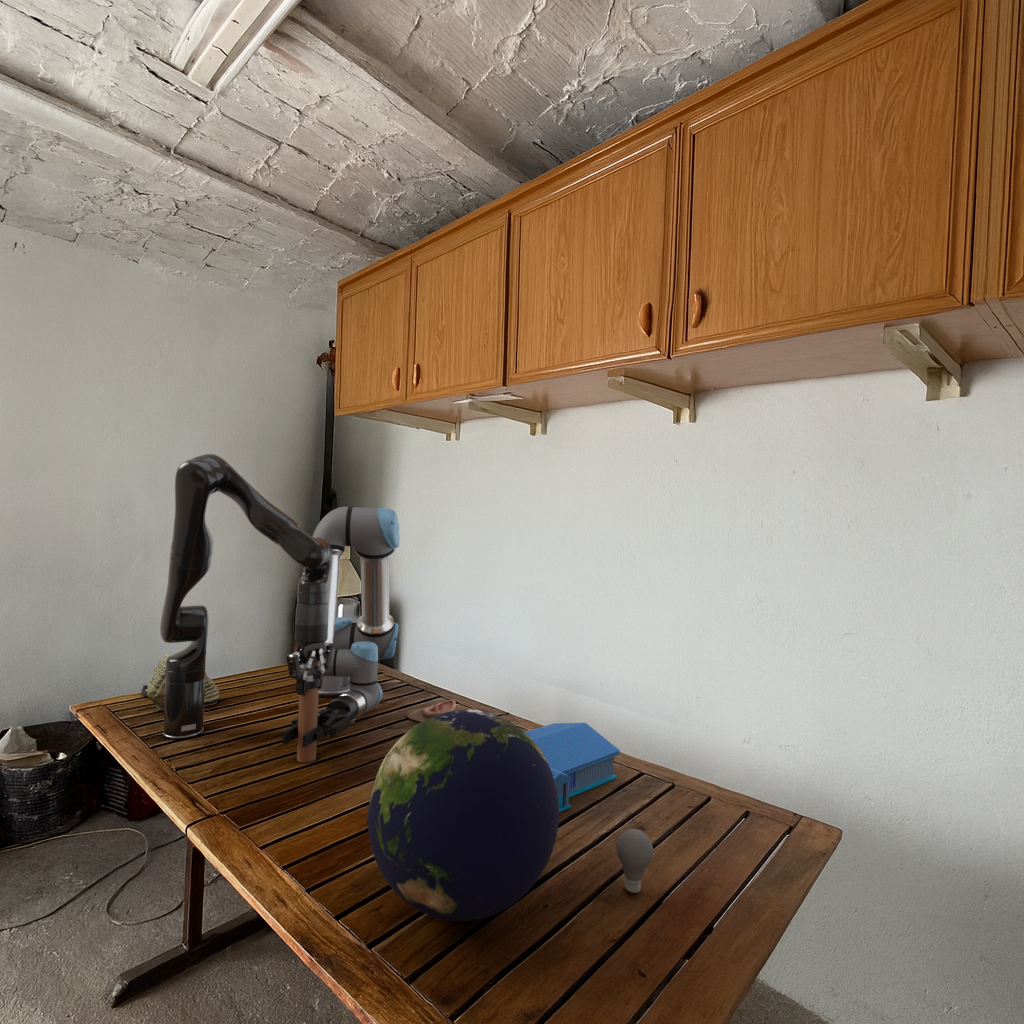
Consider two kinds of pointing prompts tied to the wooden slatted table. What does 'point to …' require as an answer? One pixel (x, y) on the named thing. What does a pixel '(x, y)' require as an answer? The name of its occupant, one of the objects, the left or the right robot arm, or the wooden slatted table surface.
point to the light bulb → (634, 857)
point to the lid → (312, 682)
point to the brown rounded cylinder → (307, 724)
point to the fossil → (158, 687)
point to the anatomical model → (432, 711)
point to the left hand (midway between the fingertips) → (309, 691)
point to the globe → (463, 815)
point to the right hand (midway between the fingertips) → (294, 739)
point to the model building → (575, 757)
